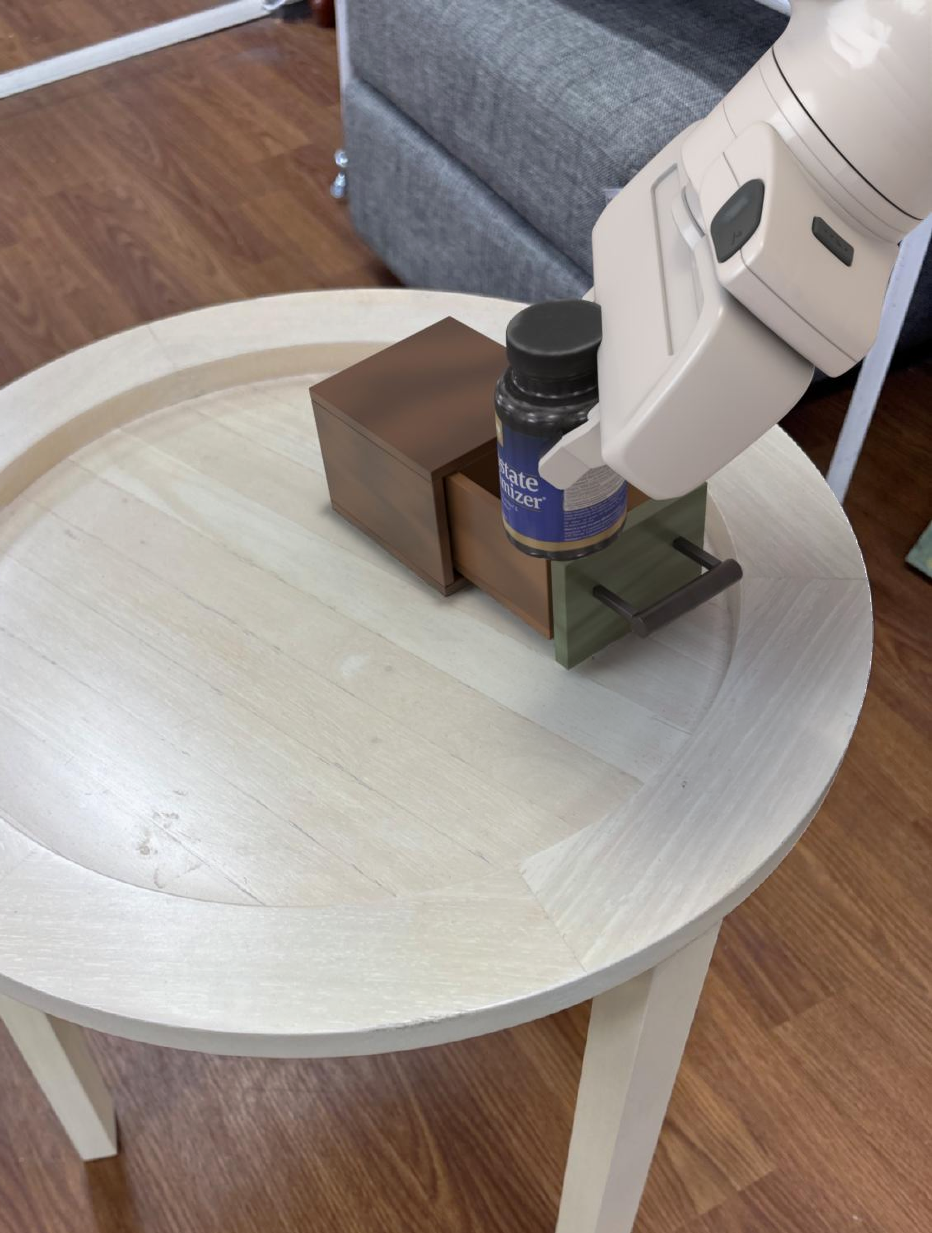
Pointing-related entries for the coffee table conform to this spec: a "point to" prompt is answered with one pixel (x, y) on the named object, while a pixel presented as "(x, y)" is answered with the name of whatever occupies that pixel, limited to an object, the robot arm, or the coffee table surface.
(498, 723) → the coffee table surface
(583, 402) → the pill bottle
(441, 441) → the cabinet
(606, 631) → the drawer
